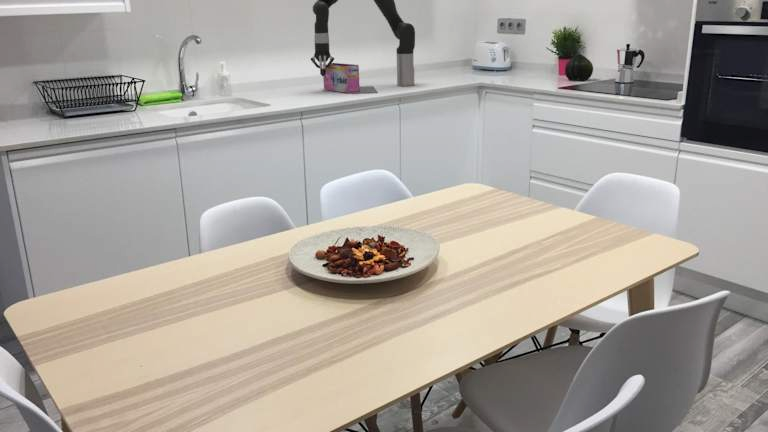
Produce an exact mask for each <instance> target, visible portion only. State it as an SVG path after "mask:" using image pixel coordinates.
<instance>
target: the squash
mask: <svg viewBox="0 0 768 432" xmlns="http://www.w3.org/2000/svg"><path fill="white" fill-rule="evenodd" d="M593 71H594V65H593V63H592V61H591V60H590V59H588V58H587V57H586V56H585V55H583V54H581V53H577V54H575V55H574V56H572V57H570V59H569V60H568V61H567V62H566V64H565V67H564V73H565V74H564V75H565V76H566V78H567V79H568V80H569V81H576V80H579V81H581V82H584V81H586V80H589V79H590V78H591V77H592V75H593Z"/></svg>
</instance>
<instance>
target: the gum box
mask: <svg viewBox="0 0 768 432" xmlns="http://www.w3.org/2000/svg"><path fill="white" fill-rule="evenodd" d="M327 64H328V63H326V65H327ZM322 78H323V79H322V80H323V90H327V91H331V92H338V93H340V92H341V93H347V94H348V93H350V94H352V92H358V91H360V87H361V86H360V67H359V64H353V63H352V64H351V63H349V64H348V63H339V62H332V63H331V65H330V66H329V67H328V68H326V75H325V76H322Z"/></svg>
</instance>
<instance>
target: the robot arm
mask: <svg viewBox="0 0 768 432" xmlns="http://www.w3.org/2000/svg"><path fill="white" fill-rule="evenodd" d="M337 2H339V0H317V1H316V2H314V4H313V6H312V11H313V14H314V15H315V21H314V38H313V39H314V40H313V41H314V53H313V56H312V57H310V61H311V62H312V63H313V64H314V66H315V67H316V68H318V69H319V70H320V71H319V72H320V76H321V77H323V76H325V75H326V68H328V67H329V66H330V65H331V63H334V60H335V57H333V56H331V53H330V36H329V35H330V34H329V17H330V8H331V7H332V6H334V4H336V3H337ZM373 2H374V3H375V5H376V6H377V8H378V9H379V11H380V12H381V14H382V15H383V17H384V18H385V20H386V21H387V23H388V24H389V27H390V29H391V31H392V33H393V34H394V37H395V38H396V39H397V40H399V45H398V47H397V48H396V85H397V86H399V87H400V86H401V87H410V86H415V66H414V63H415V62H414V61H415V59H414V49H415V46H416V31H415V27H414V25H413V24H411V23H409V22H405V21H404V20H403V19H402V18H401V16H400V15H399V12H398V11H397V6H396V3H395V0H373ZM316 60H317V62H319V64H318V63H317V62H316ZM328 60H329V61H328ZM327 61H328V63H327ZM326 64H327V65H326Z"/></svg>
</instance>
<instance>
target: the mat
mask: <svg viewBox="0 0 768 432" xmlns="http://www.w3.org/2000/svg"><path fill="white" fill-rule="evenodd" d="M362 93H363V94H378V91H377V89H376V88H375V86H373V85H368V86H366V85H364V86H360V91H358V92H351V94H352V95H354V94H355V95H359V94H362ZM363 94H362V95H363Z"/></svg>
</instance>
